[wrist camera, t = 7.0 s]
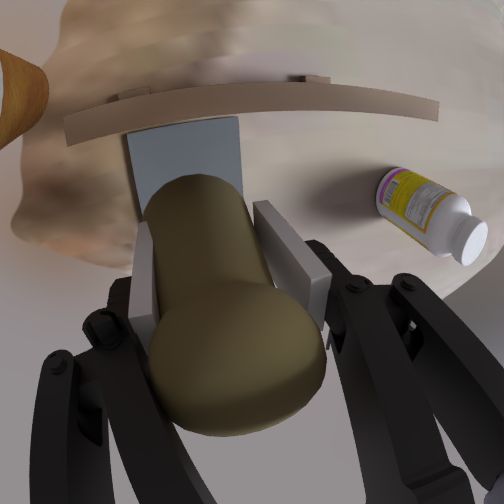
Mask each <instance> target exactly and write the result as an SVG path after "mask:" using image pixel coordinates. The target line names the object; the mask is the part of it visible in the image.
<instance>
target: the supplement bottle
mask: <svg viewBox="0 0 504 504" xmlns="http://www.w3.org/2000/svg"><path fill="white" fill-rule="evenodd" d="M376 205H377V209H378V211H379V213H380V214H381V215H382V216H383V217H384V218H385V219H387V220H388V221H389V222H391V223H392V224H394V225H395V226H397V227H398V228H399V229H401V230H402V231H403V232H405V233H406V234H407V235H409V236H410V237H411V238H413V239H414V240H415V241H417V242H418V243H419V244H421V245H422V246H423V247H425V248H426V249H427V250H428V251H430V252H431V253H432V254H434V255H435V256H438V257H446V256H449V255H451V254H452V255H453V257H454V259H455V260H456V261H458V262H459V263H460V264H462V265H463V266H467V265H469V264H471V263H472V262H473V261H474V260H475V259H476V257H477V256H478V255H479V253H480V252H481V250H482V248H483V246H484V243H485V241H486V237H487V232H488V228H487V224H486V223H485V222H484V221H482V220H481V219H479V218H478V217H476V216H475V217H474V216H471V209H470V206H469V204H468V202H467V201H466V200H465V199H464V198H463V197H461V196H460V195H458V194H456V193H454V192H452V191H450V190H449V189H447V188H445V187H443V186H441V185H439V184H437V183H435V182H433V181H431V180H429V179H427V178H425V177H423V176H421V175H419V174H417V173H415V172H412V171H410V170H408V169H405V168H396V169H393V170H391V171H390V172H389V173H387V174H386V175H385V176H384V178H383V179H382V180H381V182H380V184H379V186H378V189H377V193H376Z"/></svg>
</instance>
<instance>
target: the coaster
mask: <svg viewBox="0 0 504 504" xmlns="http://www.w3.org/2000/svg"><path fill="white" fill-rule="evenodd" d="M127 139H128V145H129V151H130V157H131V162H132V168H133V173H134V178H135V183H136V188H137V193H138V198H139V202H140V207H141V211H142V216H143V211H144V210H145V208H146V206H147V204H148V202H149V200H150V198H151V196H152V195H153V194H154V193H156V192H157V191H158V190H159V189H160V188H161V187H162V186H163V185H164V184H165V183H168V182H170V181H172V180H174V179H176V178H178V177H180V176H184V175H192V174H206V175H211V176H216V177H219V178H221V179H223V180H224V181H226V182H228V183H230V184H231V185H233V186H234V187H235V189H236V190H237V191H238V192H239V193H240V194H241V196H242V197H243V184H242V169H241V153H240V137H239V121H238V117H237V116H236V117H225V118H216V119H208V120H200V121H193V122H186V123H180V124H173V125H168V126H162V127H157V128H151V129H146V130H141V131H137V132H132V133H128V134H127Z"/></svg>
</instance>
